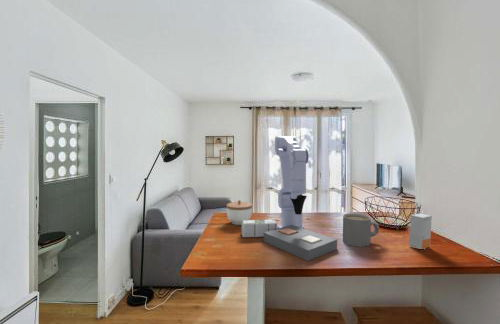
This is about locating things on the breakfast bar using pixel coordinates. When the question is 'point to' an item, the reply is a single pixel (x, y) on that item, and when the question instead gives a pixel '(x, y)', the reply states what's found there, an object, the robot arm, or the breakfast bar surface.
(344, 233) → the coffee mug
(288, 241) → the key board
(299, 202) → the robot arm
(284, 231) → the terracotta key
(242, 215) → the lidded bowl
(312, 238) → the cream key
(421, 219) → the skincare box
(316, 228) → the breakfast bar surface
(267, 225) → the syrup box
